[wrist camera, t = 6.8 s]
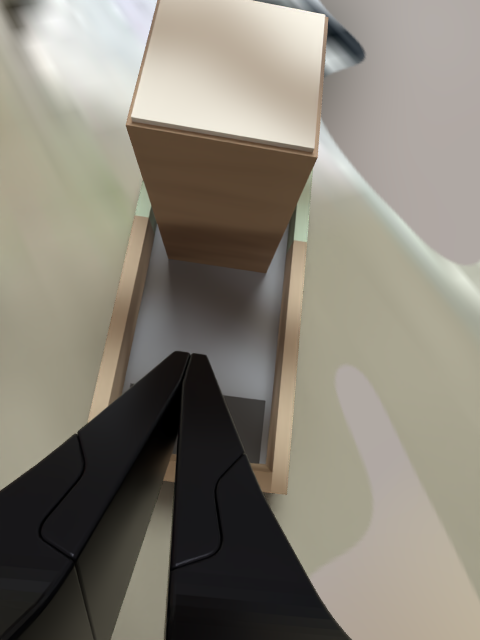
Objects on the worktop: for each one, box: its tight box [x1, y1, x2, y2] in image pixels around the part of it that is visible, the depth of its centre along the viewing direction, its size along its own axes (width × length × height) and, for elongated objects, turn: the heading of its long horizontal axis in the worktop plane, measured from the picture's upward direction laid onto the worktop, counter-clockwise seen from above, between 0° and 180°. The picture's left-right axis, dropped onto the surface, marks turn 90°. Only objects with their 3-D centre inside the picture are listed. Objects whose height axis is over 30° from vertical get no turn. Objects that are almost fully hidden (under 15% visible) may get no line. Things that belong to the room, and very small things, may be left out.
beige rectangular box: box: [126, 0, 328, 273], centre depth 14 cm, size 6×6×9 cm
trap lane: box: [87, 169, 313, 495], centre depth 16 cm, size 17×9×3 cm, turn 173°
